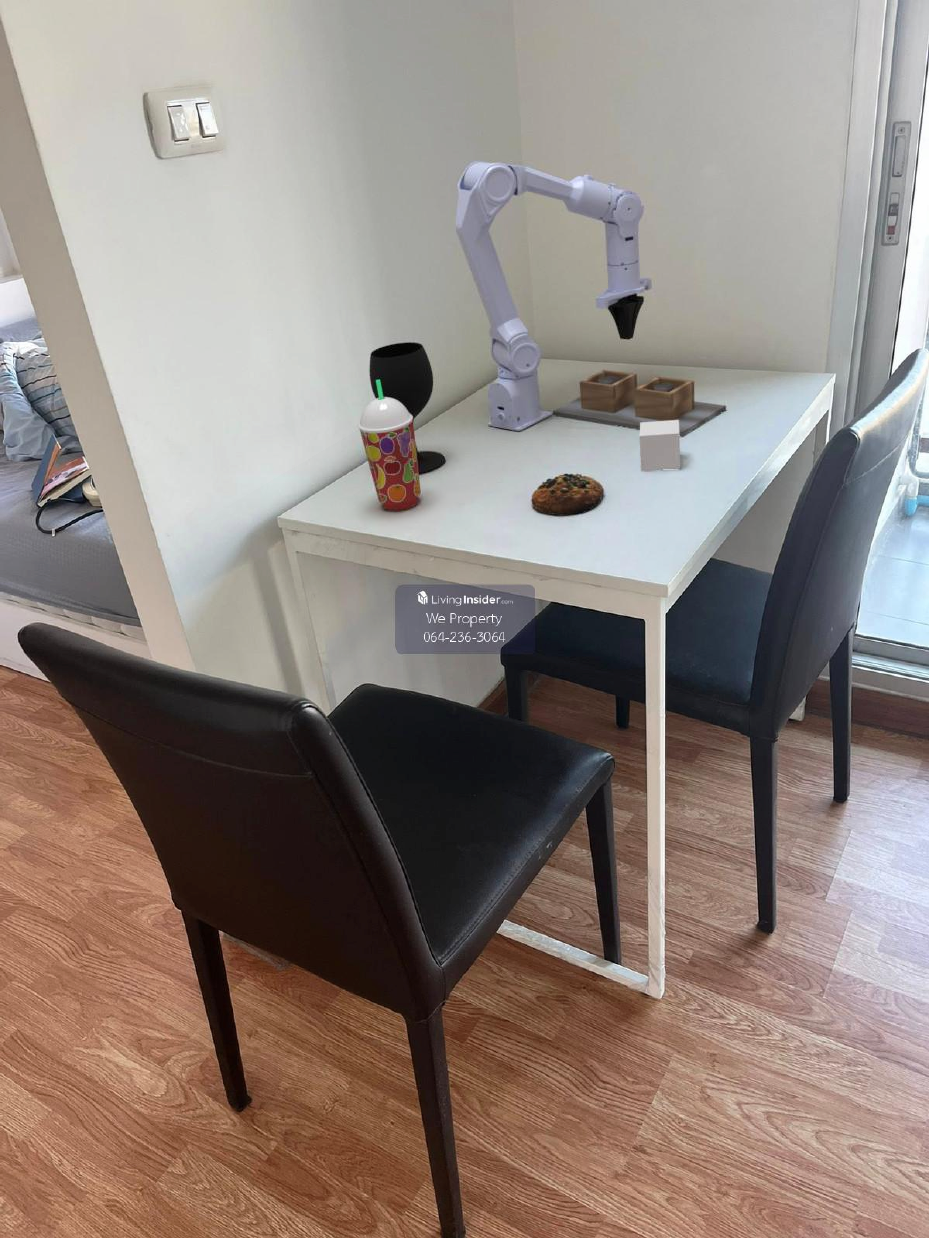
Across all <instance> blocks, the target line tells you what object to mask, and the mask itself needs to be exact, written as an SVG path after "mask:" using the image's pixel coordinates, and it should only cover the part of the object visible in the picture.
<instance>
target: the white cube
mask: <svg viewBox="0 0 929 1238" xmlns="http://www.w3.org/2000/svg"><path fill="white" fill-rule="evenodd" d="M680 443H681V442H680V436H679V420H669V421H655V422H641V423H640V430H639V454H640V455H639V456H640V457H639V459H640V472H641V471H645V472H656V471H655V470H662V471H664V470H663V469H680V470H681V453H680V452H681V448H680V447H681V446H680V445H681V444H680ZM653 470H654V471H653Z"/></svg>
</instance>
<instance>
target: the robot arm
mask: <svg viewBox="0 0 929 1238" xmlns="http://www.w3.org/2000/svg"><path fill="white" fill-rule="evenodd" d="M594 179H595V177H594V175H591V174H584V175H583V176H582V175H578V176H576V177H574V178H572V179H571V180H570V181H568V180H566V179H562V178H560V177H556V176H554V175H551V174H548V173H546V172H543V171H539V170H537V169H534V168H531V167H528V166H526V165H525V166H524V165H517V164H516V165H515V164H514V165H513V164H507V163H503V162H493V163H492V162H486V161H482V160H477V161H473V162H472V163H470V164H468V165H467V167H466V168H465V169H464V171H463V173H462V175H461V176H460V179H459V181H458V183H457V184H456V186H457V195H458V199H457V205H456V207H457V208H456V215H455V223H454V225H455V232H456V234H457V237H458V240H459V242H460V245H461V248H462V251H463V254H464V257H465V258H466V262H467V265H468V267H469V270H470V272H471V275H472V279H473V281H474V283H475V286H476V288H477V292H478V294H479V297H480V300H481V303H482V306H483V308H484V311H485V313H486V316H487V319H488V322H489V324H490V327H489V331H488V334H489V337H490V343H491V344H490V353H491V354H490V355H491V357H492V359H493V361H494V362H495V363H496V364H498V367H497V375H498V376H497V378H496V380H495V381H494V382H493V383H491V384H490V385H489V387H488V389H487V401H488V409H489V417H490V421H489V422H487V423H488V424H487V425H488V426H489V427H496V428H501V429H505V430H506V429H507V430H511V431H517V432H521V431H523V430H525V429H526V428H529V427H532V425H534V424H537V423H538V422H540V421H542V420H544V419H546V418H547V417H550V416H551V415H552V412H551V411H545V410H542V405H541V395H540V386H539V385H540V384H539V375H538V368H539V366H540V364H541V360H542V354H541V353H542V352H541V349H540V347H539V345H538V344H537V343H536V342H534V341H533V339H532V337H531V335H530V333H529V331H528V329H527V327H526V326H525V324H524V322H522V320H521V318H520V317H519V314H518V311H517V308H516V305H515V303H514V300H513V297H512V293H511V291H510V287H509V285H508V282H507V279H506V275H505V273H504V271H503V267H502V265H501V262H500V260H499V257H498V253H497V250H496V248H495V244H494V242H493V239H492V236H491V233H490V229H491V226H492V225H493V222H494V220H495V218H496V216H497V215H498V214H499V212H501V210H503V208H504V207H505V206H506V205H507V204H508V203H509V202H510V200H511V199H512V198H513V196H517V197H520V196H521V195H522V194H524V193H526V192H527V193H532V194H536V195H540V196H544V197H548V198H550V199H551V198H552V199H555V200H559V201H563V203H564V205H565V207H566V209H567V211H568V212H569V213H570V212H571V213H574V214H578V215H580V216H583V217H586V218H591V219H593V220H597V221H601V222H602V223H603V224H604V230H605V231H604V232H605V250H606V252H605V253H606V268H607V269H606V270H607V271H606V273H607V284H608V285H607V287H608V288H607V289H605V291H603V292H602V293H601V294H600V295H598V296H596V297H595V302H596V309H604V310H606V309H607V310H608V312H609V313H610V314H611V316H612V319H613V321H614V323H615V326H616V329H617V333H618V335H619V339H620V340H631V339H633V338H634V336H635V335H634V334H635V330H636V324H637V321H638V316H639V313H640V311H641V308H642V307H643V306H642V305H643V304H644V302H645V299H644V298H645V297H644V296H642V295H638V294H642V293H644V292H645V291H650V290H652V278H651V277H640V276H641V274H640V248H639V247H640V246H639V245H640V244H639V223H640V221H641V219H642V217H643V216H644V215H643V214H644V211H645V205H643V204H642V201H641V198H640V196H638V194H637V193H636V192H635V191H632V190H625V189H618V188H617V187H618V185H617V184H616V183H614V182H613V183H612V182H609V184H605V183H603V182H600V181H597V180H594Z"/></svg>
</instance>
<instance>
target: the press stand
mask: <svg viewBox="0 0 929 1238" xmlns="http://www.w3.org/2000/svg"><path fill="white" fill-rule="evenodd" d="M606 376H616V377H618V382H616V383H614V384H612V385H611V384H603V383H598V379H600V378H602V377H606ZM661 383H672V384H674V385H675V389H674V390H672V391H670V392H664V391H657V390H654V386H655V385H657V384H661ZM579 393H580V397H578V398H576V399H573V400H572V401H569V402H568V403H566V404H564V405H562V406H560V407H558V408H556V409H554V410H552V412H551V414H552V416H553V415H556V416H555V417H559V416H560V418H566V419H573V420H579V421H583V422H590V421H591V422H592V423H596V424H602V425H603V424H604V425H609V426H614V425H617V426H616V427H620V426H622V427H621V428H626V427H628V429H632V428H636V429H635V430H638V429H640V423H641V422H655V421H669V420H679V435H680V436H683V435H684V436H686V435H688V434H689V433H690V432H689V431H691V432H693V431H694V430H695V428H696V429H697V428H699V427H700V426H699V425H701V426H703V425H704V424H706V423H707V422H709V421H711V420H712V419H713V418H715V417H717V416H719V415H720V414H722V413H723V411H724V412H725V411H727V405H725V404H718V403H717V404H715V403H710V402H709V403H708V402H703V401H701V402H700V401H695V381H694V380H692V379H691V380H690V379H689V380H688V379H679V378H673V377H666V376H656V377H654V378H653V379H651V380H649V381H647V382H645V383H643V384H642V385H640V386H638V375H637V373H633V372H632V373H631V372H621V371H615V370H606V369H603V370H601V371H599V372H597V373H595V374H593V375H591V376H589V377H587V378H585V379H582V380H581V381H579ZM721 412H722V413H721ZM718 414H719V415H718ZM716 415H717V416H716ZM711 418H712V419H711ZM708 420H709V421H708ZM706 421H707V422H706ZM705 422H706V423H705ZM693 429H694V430H693ZM692 430H693V431H692ZM688 432H689V433H688ZM687 433H688V434H687ZM685 434H686V435H685ZM680 436H679V437H680ZM684 436H683V437H684Z"/></svg>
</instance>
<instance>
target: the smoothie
mask: <svg viewBox="0 0 929 1238" xmlns="http://www.w3.org/2000/svg"><path fill="white" fill-rule="evenodd" d="M376 384H377V389H378V395H379V398H377V399H376V398H375V399H372V400H371V401H370V402H369V403H368V404H367V405H366V406H365V408H364V409H363V411H362V412H361V417H360V421H359V423H358V429H359V432H360V436H361V440H362V444H363V447H364V452H365V455H366V460H367V463H368V466H369V470H370V474H371V477H372V481H373V484H374V488H375V492H376V496H377V499H378V501H379V502H380V503H381V504H382V506H383V508H384V509H385V510H389V511H403V510H408V509H410V508H412V507H414V506H415V505H417V504H418V502H419V497H420V496H421V483H420V482H421V481H420V475H419V472H418V463H417V454H416V447H417V443H416V444H415V442H416V437H415V427H414V422H413V416H412V415H411V414H410V413H409V412H408V410H407V409H406V407H405V406H404V405H403V404H402V403H401V402H400V401H398V400H396V399H394V398H390V397H383V393H382V388H381V382H380V380H376Z"/></svg>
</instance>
